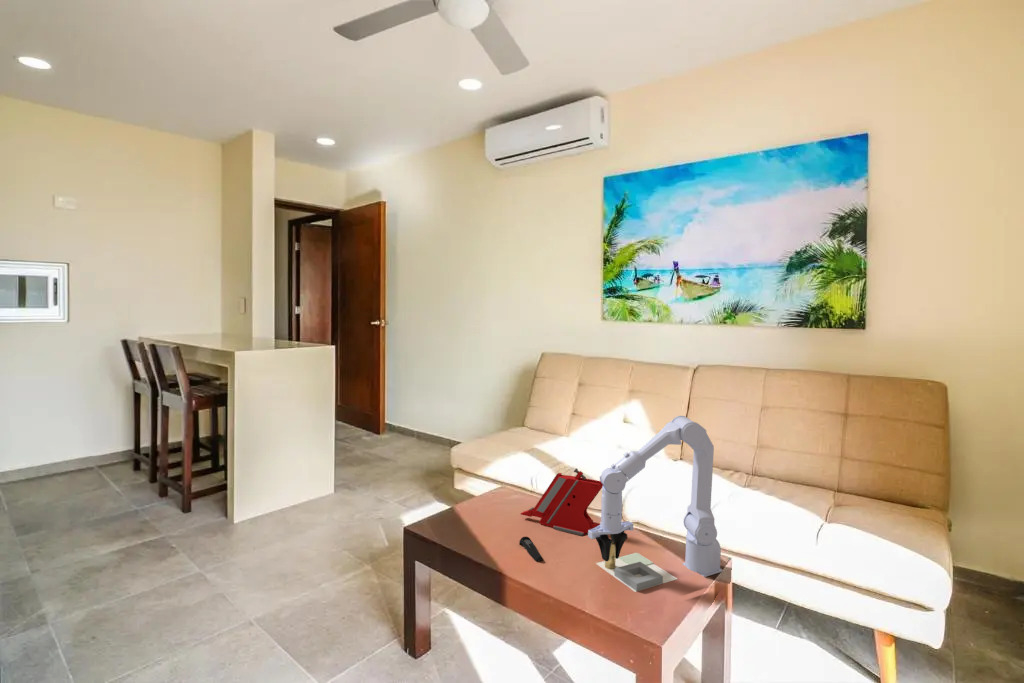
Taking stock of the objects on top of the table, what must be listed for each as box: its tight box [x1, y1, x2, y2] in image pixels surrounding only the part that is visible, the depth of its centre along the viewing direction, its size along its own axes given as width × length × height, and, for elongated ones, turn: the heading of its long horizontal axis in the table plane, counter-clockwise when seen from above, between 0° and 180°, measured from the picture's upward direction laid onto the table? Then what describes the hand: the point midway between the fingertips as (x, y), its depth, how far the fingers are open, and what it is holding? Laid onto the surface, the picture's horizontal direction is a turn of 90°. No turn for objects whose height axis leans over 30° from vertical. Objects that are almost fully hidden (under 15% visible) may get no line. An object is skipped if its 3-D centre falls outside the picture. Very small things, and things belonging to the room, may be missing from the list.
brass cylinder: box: [604, 541, 616, 569], centre depth 148 cm, size 3×3×7 cm
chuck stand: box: [595, 552, 678, 593], centre depth 146 cm, size 15×17×3 cm
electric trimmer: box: [518, 536, 544, 563], centre depth 158 cm, size 4×15×3 cm, turn 17°
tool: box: [520, 467, 603, 537], centre depth 175 cm, size 27×6×27 cm, turn 64°
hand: (610, 558), depth 148 cm, fingers closed on brass cylinder, 3 cm apart
